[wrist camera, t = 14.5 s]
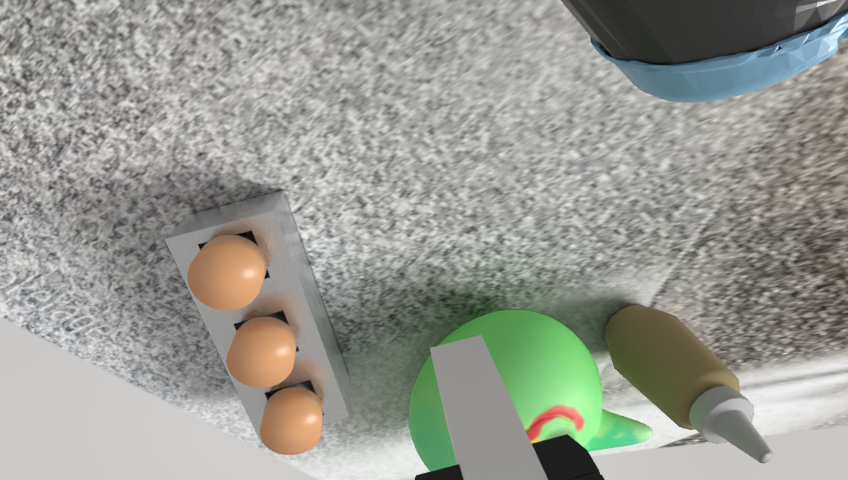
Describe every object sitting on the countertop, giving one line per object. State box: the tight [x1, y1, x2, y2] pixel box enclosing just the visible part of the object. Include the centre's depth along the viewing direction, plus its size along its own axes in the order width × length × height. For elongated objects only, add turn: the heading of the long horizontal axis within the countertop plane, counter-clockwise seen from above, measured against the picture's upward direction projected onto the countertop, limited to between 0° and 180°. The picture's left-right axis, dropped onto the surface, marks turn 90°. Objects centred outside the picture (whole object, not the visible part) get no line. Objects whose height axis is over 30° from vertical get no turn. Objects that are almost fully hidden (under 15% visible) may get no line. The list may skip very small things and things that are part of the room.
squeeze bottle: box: [604, 305, 773, 463], centre depth 43 cm, size 8×8×18 cm
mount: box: [165, 190, 350, 443], centre depth 41 cm, size 20×8×6 cm, turn 13°
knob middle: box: [226, 310, 297, 388], centre depth 39 cm, size 5×5×8 cm
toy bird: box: [409, 309, 653, 472], centre depth 43 cm, size 18×17×15 cm
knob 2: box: [260, 380, 323, 455], centre depth 41 cm, size 5×5×8 cm
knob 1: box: [187, 230, 267, 311], centre depth 36 cm, size 5×5×8 cm
